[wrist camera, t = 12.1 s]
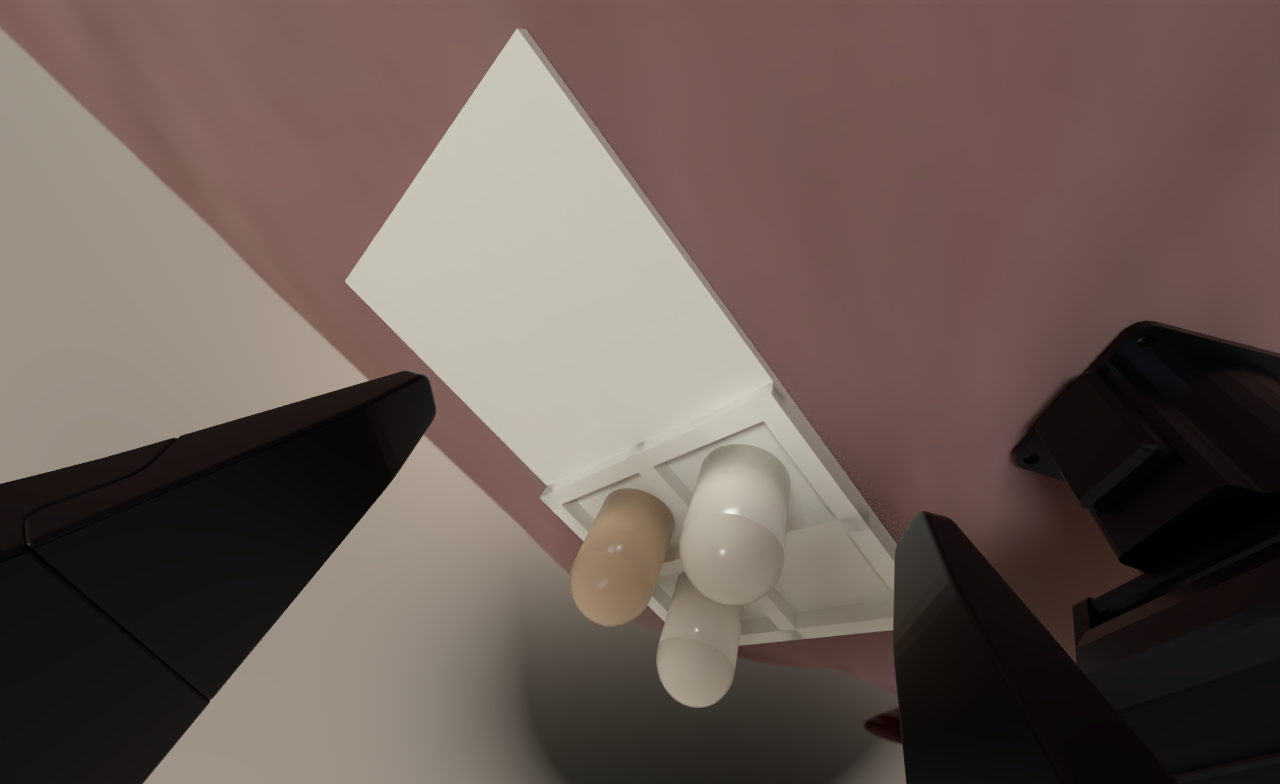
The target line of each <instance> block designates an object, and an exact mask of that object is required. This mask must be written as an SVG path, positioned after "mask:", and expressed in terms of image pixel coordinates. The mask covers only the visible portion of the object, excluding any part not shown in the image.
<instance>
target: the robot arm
mask: <svg viewBox="0 0 1280 784" xmlns="http://www.w3.org/2000/svg"><path fill="white" fill-rule="evenodd" d="M1148 333H1152V335H1151V337H1150V338H1148V339H1147V340H1144V341H1141V342H1137V341H1138V339H1139V338H1140V337H1141V336H1143V335H1145V334H1148ZM435 414H436V404H435V400H434V396H433V392H432V388H431V383H430V380H429V379H428V377H427V376H425V375H424V374H420V373H417V372H413V371H402V372H398V373H395V374H391V375H388V376H384V377H381V378H377V379H374V380H371V381H367V382H364V383H360V384H357V385H353V386H350V387H347V388H343V389H340V390H337V391H333V392H330V393H326V394H323V395H319V396H316V397H312V398H309V399H306V400H302V401H299V402H295V403H292V404H289V405H285V406H282V407H278V408H275V409H272V410H268V411H264V412H261V413H258V414H254V415H251V416H247V417H244V418H240V419H237V420H233V421H230V422H227V423H224V424H220V425H216V426H213V427H209V428H206V429H203V430H199V431H196V432H192V433H189V434H185V435H182V436H180V437H179V438H178V439H177V438H172V439H168V440H164V441H161V442H158V443H154V444H151V445H148V446H144V447H140V448H137V449H133V450H130V451H126V452H122V453H119V454H115V455H112V456H108V457H105V458H102V459H97V460H94V461H90V462H86V463H82V464H78V465H74V466H70V467H66V468H62V469H59V470H55V471H51V472H47V473H43V474H39V475H35V476H31V477H27V478H23V479H18V480H15V481H10V482H6V483H3V484H0V784H143V783H144V782H145V780H146V779H147V778H148V777H149V776H150V774H151V773H152V772H153V771H154V769H155V768H156V767H157V766H158V765H159V763H160V762H161V761H162V760H163V759H164V757H165V756H166V755H167V754H168V753H169V751H170V750H171V749H172V748H173V746H174V745H175V744H176V743H177V741H178V740H179V739H180V738H181V737H182V735H183V734H184V733H185V732H186V731H187V729H188V728H189V727H190V726H191V725H192V723H193V722H194V721H195V720H196V719H197V717H198V716H199V715H200V714H201V712H202V711H203V710H204V709H205V708H206V706H207V705H208V704H209V703H210V700H211V699H212V698H213V697H214V696H215V695H216V694H217V693H218V691H219V690H220V689H221V688H222V686H223V685H224V684H225V683H226V682H227V680H228V679H229V678H230V677H231V676H232V674H233V673H234V672H235V671H236V669H237V668H238V667H239V666H240V665H241V663H242V662H243V661H244V660H245V659H246V657H247V656H248V655H249V654H250V653H251V651H252V650H253V649H254V647H256V645H257V644H258V643H259V642H260V641H261V639H262V638H263V637H264V636H265V634H266V633H267V632H268V631H269V630H270V628H271V627H272V626H273V625H274V624H275V622H276V621H277V620H278V619H279V617H280V616H281V615H282V614H283V613H284V611H285V610H286V609H287V608H288V607H289V605H290V604H291V603H292V602H293V600H294V599H295V598H296V597H297V596H298V594H299V593H300V592H301V591H302V590H303V588H304V587H305V586H306V585H307V584H308V582H309V581H310V580H311V579H312V578H313V576H314V575H315V574H316V573H317V571H318V570H319V569H320V568H321V567H322V565H323V564H324V563H325V562H326V560H327V559H328V558H329V557H330V555H331V554H332V553H333V552H334V551H335V550H336V548H337V547H338V546H339V545H340V544H341V542H342V541H343V540H344V539H345V538H346V536H347V535H348V534H349V533H350V531H351V530H352V529H353V528H354V527H355V525H356V524H357V523H358V522H359V521H360V519H361V518H362V517H363V516H364V515H365V513H366V512H367V511H368V509H369V508H370V507H371V506H372V505H373V504H374V502H375V501H376V500H377V499H378V498H379V496H380V495H381V494H382V493H383V491H384V490H385V489H386V488H387V486H388V485H389V484H390V483H391V481H392V480H393V479H394V477H395V476H396V474H397V473H398V472H399V470H400V469H401V467H402V466H403V464H404V463H405V461H406V460H407V458H408V457H409V455H410V454H411V452H412V451H413V449H414V448H415V446H416V445H417V443H418V442H419V440H420V439H421V437H422V436H423V434H424V433H425V431H426V430H427V428H428V427H429V425H430V424H431V422H432V421H433V419H434V417H435ZM1034 426H1035V427H1034V428H1033V429H1032V430H1031V431H1030V433H1029V434H1028V435H1027V436H1026V437H1025V438H1024V439H1023V440H1022V441H1021V442H1020V443H1019V444H1018V445H1017V446H1016V448H1015V449H1014V450H1013V457H1014V459H1015V461H1016V463H1017V464H1018V466H1020V467H1022V468H1025V469H1028V470H1031V471H1034V472H1037V473H1041V474H1044V475H1047V476H1050V477H1053V478H1057V479H1060V480H1063V481H1065V482H1066V483H1067V485H1068V487H1069V488H1070V490H1071V492H1072V493H1073V495H1074V497H1075V499H1076V500H1077V502H1078V504H1079V505H1080V506H1081V507H1082V508H1085V509H1088V510H1089V512H1090V513H1091V515H1092V517H1093V518H1094V520H1095V522H1096V523H1097V525H1098V527H1099V528H1100V530H1101V532H1102V533H1103V535H1104V537H1105V538H1106V540H1107V542H1108V543H1109V545H1110V547H1111V548H1112V550H1113V552H1114V553H1115V555H1116V557H1117V558H1118V560H1119V562H1121V563H1122V564H1124V565H1127V566H1130V567H1133V568H1136V569H1138V570H1139V571H1140V573H1141V575H1140V576H1138V577H1136V578H1134V579H1132V580H1130V581H1128V582H1126V583H1124V584H1122V585H1120V586H1118V587H1117V588H1115V589H1113V590H1111V591H1109V592H1107V593H1105V594H1103V595H1101V596H1099V597H1097V598H1095V599H1093V598H1086V599H1084V600H1082V601H1081V602H1079V603H1077V604H1075V605H1073V620H1074V633H1075V645H1076V660H1077V664H1076V663H1075V662H1074V661H1073V660H1072V658H1071V657H1070V656H1069V655H1068V654H1067V653H1066V652H1065V650H1064V649H1063V648H1062V647H1061V646H1060V645H1059V643H1058V642H1057V641H1056V640H1055V639H1054V638H1053V636H1052V635H1051V634H1050V633H1049V632H1048V631H1047V629H1046V628H1045V627H1044V626H1043V625H1042V624H1041V622H1040V621H1039V620H1038V619H1037V618H1036V617H1035V615H1034V614H1033V613H1032V612H1031V611H1030V610H1029V609H1028V607H1027V606H1026V605H1025V604H1024V603H1023V602H1022V600H1021V599H1020V598H1019V597H1018V596H1017V595H1016V593H1015V592H1014V591H1013V590H1012V589H1011V588H1010V586H1009V585H1008V584H1007V583H1006V582H1005V581H1004V579H1003V578H1002V577H1001V576H1000V575H999V574H998V572H997V571H996V570H995V569H994V568H993V567H992V565H991V564H990V563H989V562H988V561H987V560H986V559H985V557H984V556H983V555H982V554H981V553H980V552H979V550H978V549H977V548H976V547H975V546H974V545H973V543H972V542H971V541H970V540H969V539H968V538H967V536H966V535H965V534H964V533H963V532H962V531H961V529H960V528H959V527H958V526H957V525H956V524H955V523H954V522H953V521H952V520H951V519H950V518H948V517H945V516H941V515H938V514H934V513H930V512H927V511H922V512H919V513H918V514H917V515H916V516H915V517H914V519H913V520H912V522H911V523H910V525H909V526H908V528H907V529H906V531H905V532H904V534H903V535H902V537H901V538H900V539H899V541H898V543H897V546H896V549H895V562H894V610H893V651H894V665H895V675H896V685H897V694H898V704H899V714H900V724H901V734H902V744H903V754H904V764H905V774H906V783H907V784H1280V354H1279V353H1275V352H1271V351H1267V350H1264V349H1260V348H1256V347H1252V346H1248V345H1244V344H1240V343H1236V342H1232V341H1229V340H1225V339H1221V338H1217V337H1213V336H1209V335H1205V334H1201V333H1198V332H1194V331H1190V330H1186V329H1182V328H1178V327H1174V326H1170V325H1167V324H1163V323H1159V322H1155V321H1142V322H1137V323H1135V324H1133V325H1131V326H1129V327H1128V328H1127V329H1125V330H1124V331H1123V332H1122V333H1121V335H1120V336H1119V337H1118V338H1117V339H1116V340H1115V341H1114V342H1113V343H1112V344H1111V345H1110V346H1109V347H1108V349H1107V350H1106V351H1105V352H1104V353H1103V354H1102V355H1101V356H1100V357H1099V358H1098V359H1097V360H1096V361H1095V363H1094V364H1093V365H1092V366H1091V367H1090V368H1089V369H1088V370H1087V371H1086V372H1085V373H1083V374H1081V375H1080V376H1079V377H1078V378H1077V379H1076V380H1075V381H1074V382H1073V383H1072V384H1071V386H1070V387H1069V388H1068V389H1067V390H1066V391H1065V392H1064V393H1063V394H1062V395H1061V396H1060V397H1059V399H1058V400H1057V401H1056V402H1055V403H1054V404H1053V405H1052V406H1051V407H1050V408H1049V409H1048V410H1047V411H1046V413H1045V414H1044V415H1043V416H1042V417H1041V418H1040V419H1039V420H1038V421H1037V422H1036V423H1035V425H1034ZM1031 454H1034V456H1032V457H1028V458H1026V457H1025V456H1027V455H1031Z"/></svg>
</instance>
